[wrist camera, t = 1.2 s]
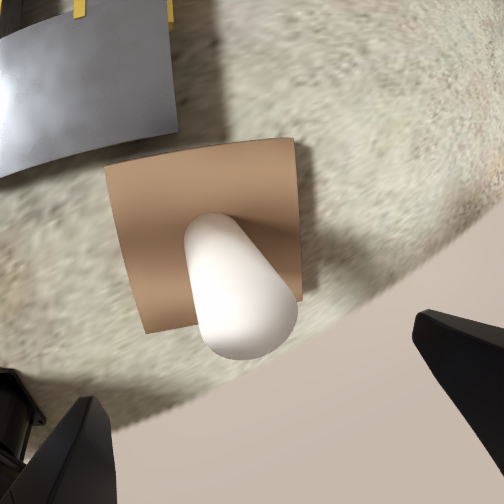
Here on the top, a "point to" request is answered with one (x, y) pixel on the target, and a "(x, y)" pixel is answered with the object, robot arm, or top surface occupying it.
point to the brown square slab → (194, 205)
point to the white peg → (236, 290)
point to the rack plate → (84, 80)
